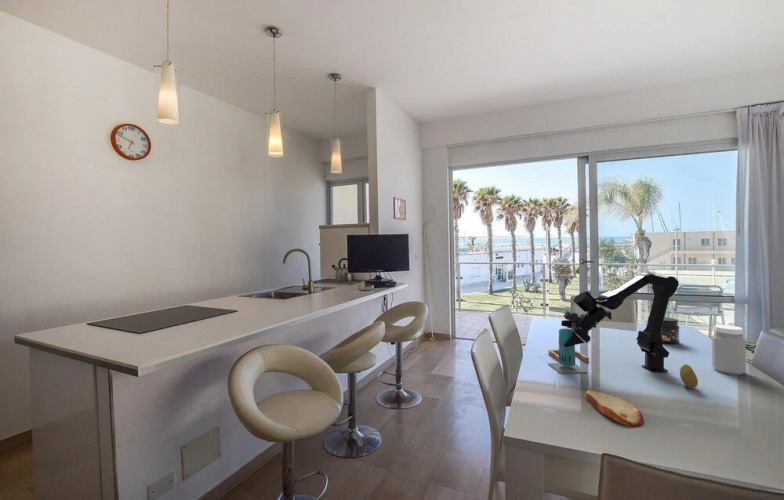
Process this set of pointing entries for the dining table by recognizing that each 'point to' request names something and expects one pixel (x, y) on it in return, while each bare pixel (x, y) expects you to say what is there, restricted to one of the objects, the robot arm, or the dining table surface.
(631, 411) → the bread slice
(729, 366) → the jar
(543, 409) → the dining table surface
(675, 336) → the supplement container
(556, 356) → the frame
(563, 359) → the beverage bottle
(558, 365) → the rubber mat
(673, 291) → the robot arm
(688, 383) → the potato
